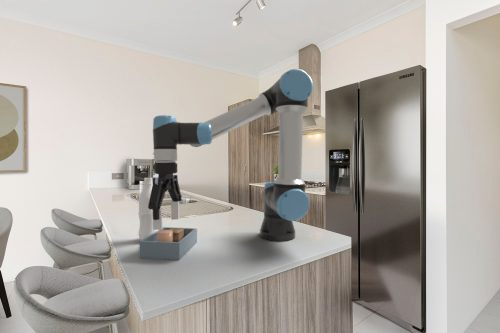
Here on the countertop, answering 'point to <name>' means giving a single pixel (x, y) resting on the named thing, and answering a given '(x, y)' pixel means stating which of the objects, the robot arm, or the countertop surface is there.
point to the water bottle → (145, 210)
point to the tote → (167, 245)
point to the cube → (177, 234)
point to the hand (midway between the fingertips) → (167, 224)
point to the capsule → (165, 236)
